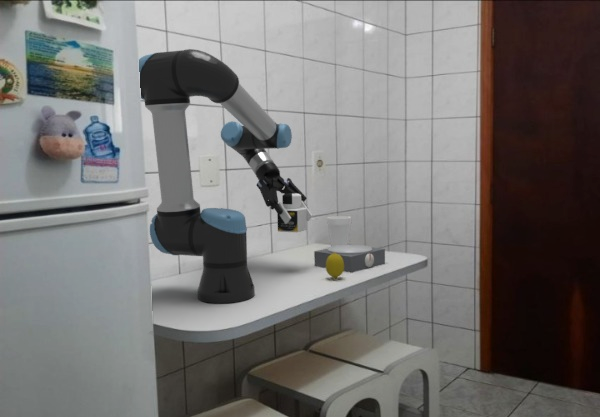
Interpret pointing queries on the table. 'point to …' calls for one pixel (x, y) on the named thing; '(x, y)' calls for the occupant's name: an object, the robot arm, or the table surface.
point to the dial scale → (352, 256)
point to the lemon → (334, 265)
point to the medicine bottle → (293, 214)
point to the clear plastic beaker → (339, 229)
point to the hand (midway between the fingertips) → (299, 219)
